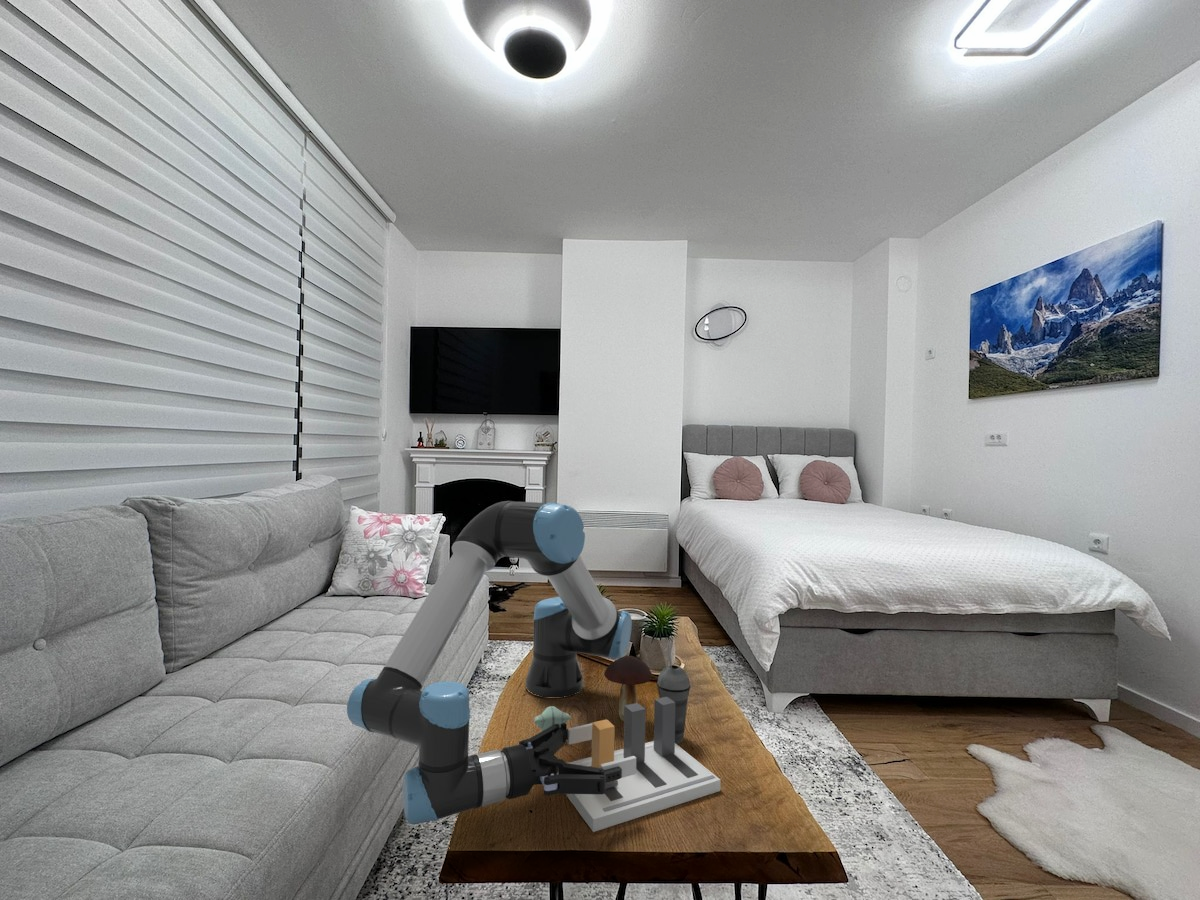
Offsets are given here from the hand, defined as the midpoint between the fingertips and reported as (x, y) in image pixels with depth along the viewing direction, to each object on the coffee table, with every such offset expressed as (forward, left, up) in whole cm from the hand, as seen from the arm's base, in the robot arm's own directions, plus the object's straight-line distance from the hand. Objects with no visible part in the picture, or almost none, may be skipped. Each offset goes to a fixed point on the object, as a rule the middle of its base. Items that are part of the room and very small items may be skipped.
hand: (616, 746), depth 99 cm
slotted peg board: (0, +4, -8) cm, 9 cm away
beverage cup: (-11, +20, -8) cm, 25 cm away
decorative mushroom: (-22, +15, -8) cm, 28 cm away
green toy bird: (-22, -4, -8) cm, 24 cm away
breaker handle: (0, -3, -6) cm, 6 cm away
